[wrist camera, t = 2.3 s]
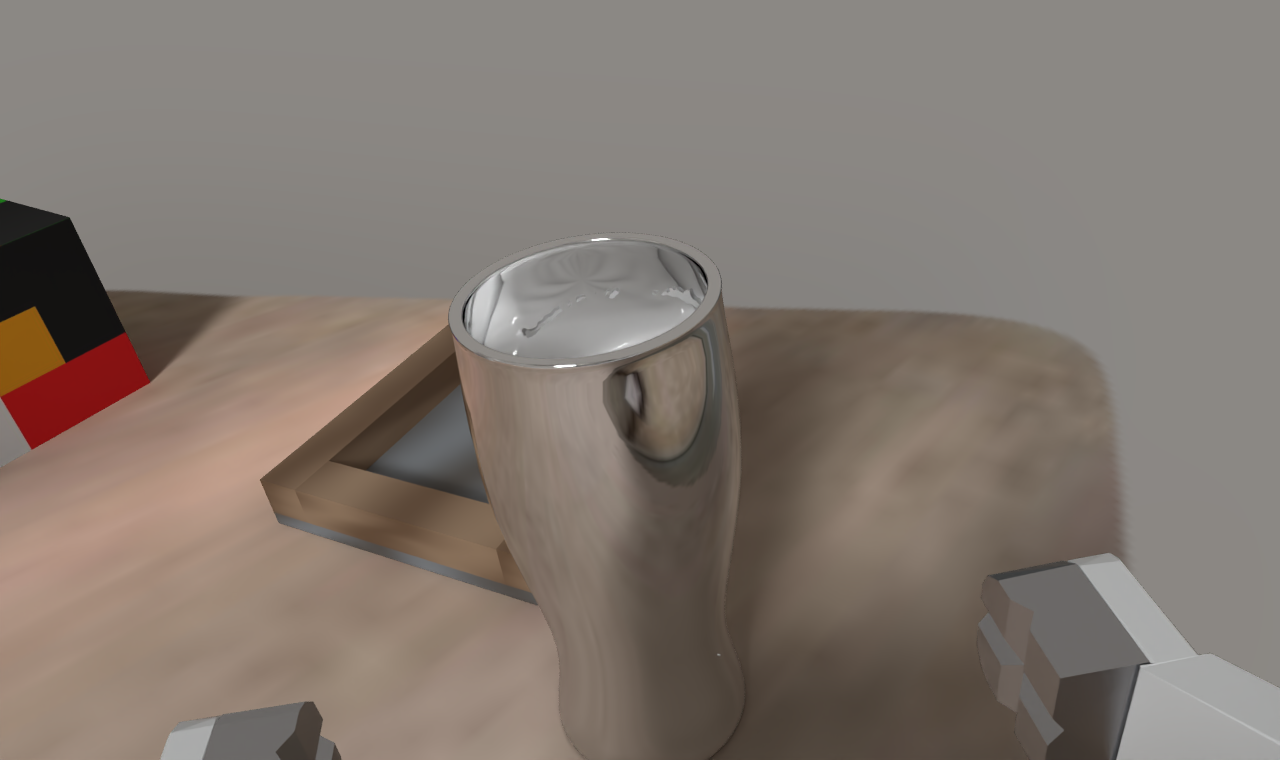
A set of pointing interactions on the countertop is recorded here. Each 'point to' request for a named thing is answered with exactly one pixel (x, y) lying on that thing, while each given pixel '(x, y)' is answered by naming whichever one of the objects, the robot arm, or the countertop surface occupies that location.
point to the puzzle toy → (54, 333)
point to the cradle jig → (401, 478)
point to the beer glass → (614, 477)
